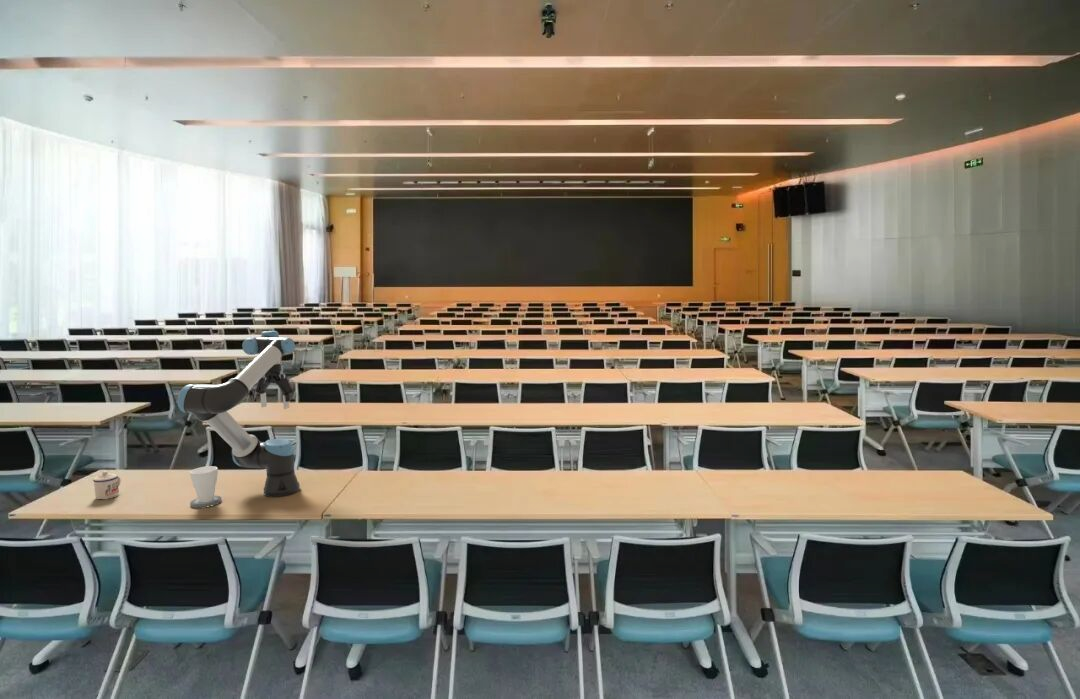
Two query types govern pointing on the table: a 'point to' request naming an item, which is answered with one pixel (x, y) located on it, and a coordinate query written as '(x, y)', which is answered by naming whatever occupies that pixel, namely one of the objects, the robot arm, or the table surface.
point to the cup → (204, 482)
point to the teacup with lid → (106, 485)
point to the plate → (197, 504)
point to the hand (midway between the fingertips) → (275, 407)
